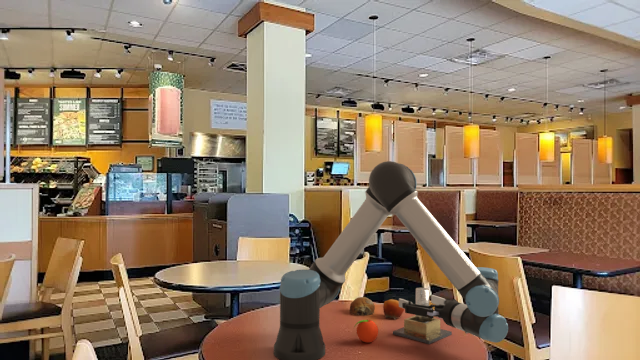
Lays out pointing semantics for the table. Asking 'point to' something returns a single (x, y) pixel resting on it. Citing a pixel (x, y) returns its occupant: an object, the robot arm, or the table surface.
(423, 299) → the silver metal tall cylinder
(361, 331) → the clementine
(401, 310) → the fruit
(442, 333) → the gold square holder
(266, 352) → the table surface
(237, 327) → the table surface
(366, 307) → the bread roll
